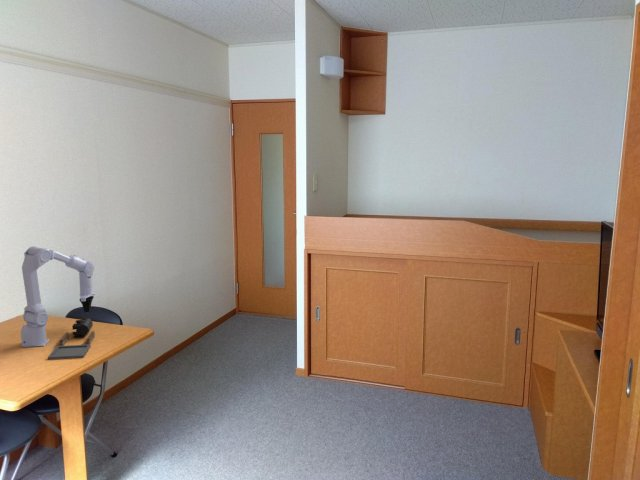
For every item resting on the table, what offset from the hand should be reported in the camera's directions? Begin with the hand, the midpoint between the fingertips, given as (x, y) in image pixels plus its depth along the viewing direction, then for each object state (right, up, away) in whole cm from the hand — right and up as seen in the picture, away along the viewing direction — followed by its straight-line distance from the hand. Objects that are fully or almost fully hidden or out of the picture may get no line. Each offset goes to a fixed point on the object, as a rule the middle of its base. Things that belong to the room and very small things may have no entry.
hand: (87, 311), depth 248 cm
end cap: (+2, -10, -8) cm, 13 cm away
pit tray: (+7, -14, -31) cm, 35 cm away
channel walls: (+4, -11, -18) cm, 22 cm away
